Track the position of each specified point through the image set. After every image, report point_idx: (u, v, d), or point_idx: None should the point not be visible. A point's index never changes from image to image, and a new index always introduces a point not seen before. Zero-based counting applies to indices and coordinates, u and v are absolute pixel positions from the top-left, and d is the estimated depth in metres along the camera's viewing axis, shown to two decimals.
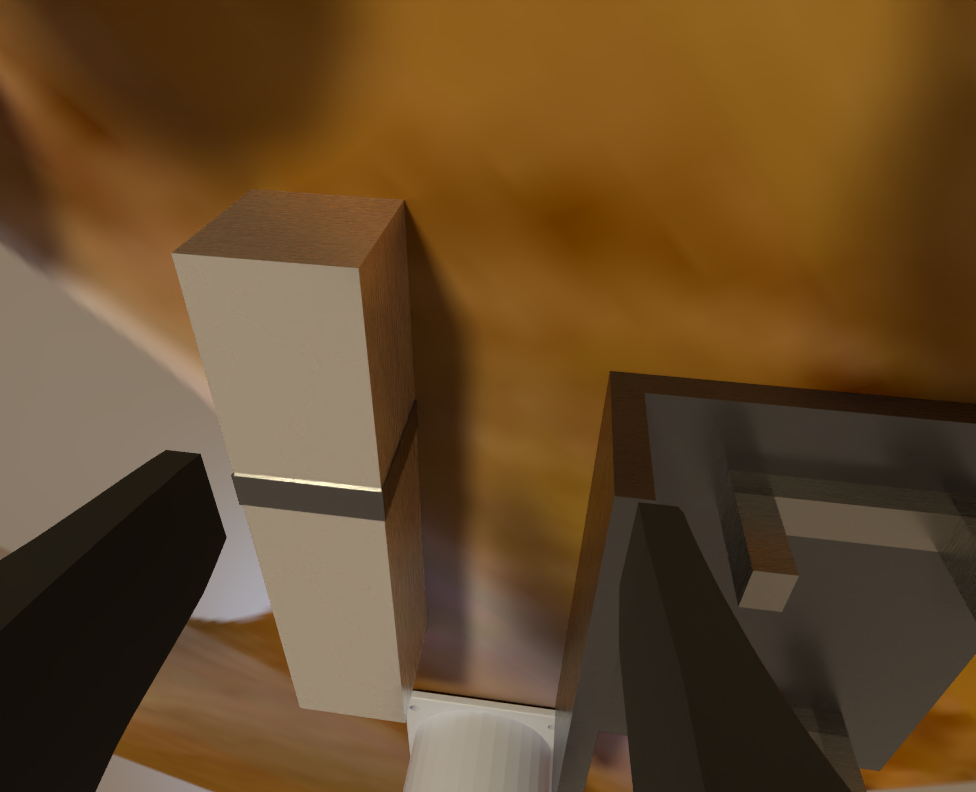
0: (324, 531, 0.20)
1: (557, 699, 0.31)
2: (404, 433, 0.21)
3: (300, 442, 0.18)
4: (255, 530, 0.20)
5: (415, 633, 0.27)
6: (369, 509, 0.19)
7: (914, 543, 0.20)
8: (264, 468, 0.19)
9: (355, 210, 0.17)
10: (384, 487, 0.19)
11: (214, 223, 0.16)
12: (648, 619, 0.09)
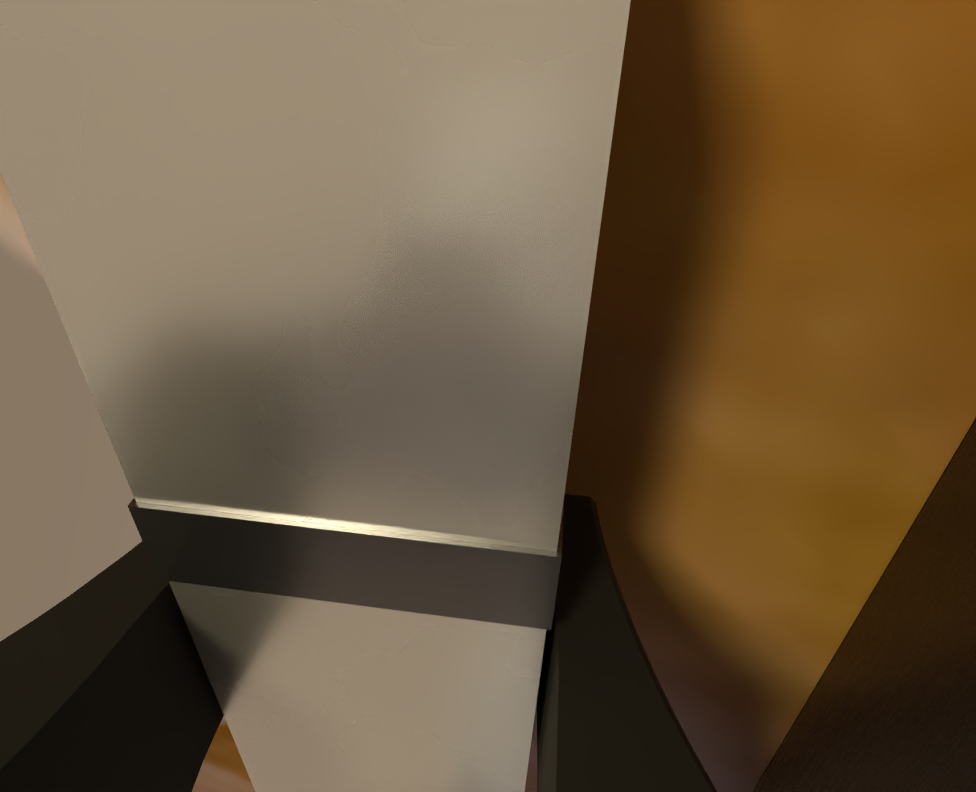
0: (379, 644, 0.08)
1: None
2: None
3: (326, 409, 0.06)
4: (205, 637, 0.08)
5: None
6: (512, 600, 0.07)
7: None
8: (219, 487, 0.07)
9: None
10: (561, 541, 0.07)
11: None
12: None
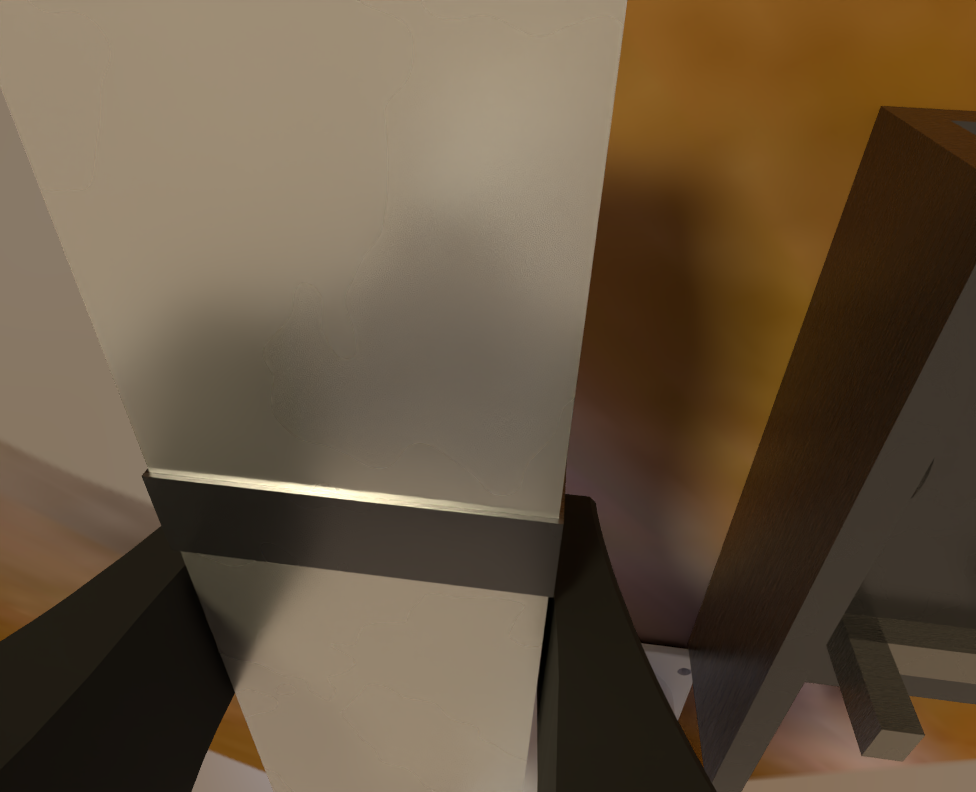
0: (386, 614, 0.08)
1: (696, 633, 0.25)
2: None
3: (336, 378, 0.06)
4: (215, 608, 0.08)
5: None
6: (515, 567, 0.07)
7: None
8: (231, 457, 0.07)
9: None
10: (563, 509, 0.07)
11: None
12: (548, 606, 0.09)
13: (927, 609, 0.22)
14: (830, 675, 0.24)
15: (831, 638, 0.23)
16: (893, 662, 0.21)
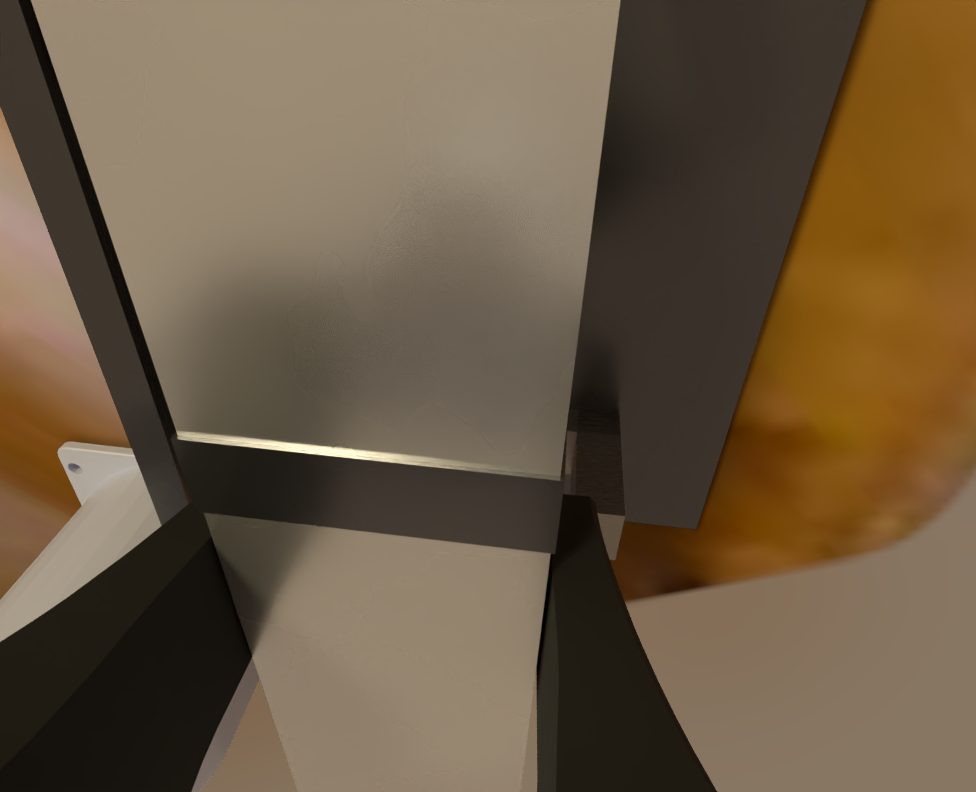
0: (396, 573, 0.09)
1: None
2: None
3: (354, 342, 0.06)
4: (235, 570, 0.09)
5: None
6: (519, 524, 0.08)
7: None
8: (255, 419, 0.07)
9: None
10: (564, 468, 0.07)
11: None
12: (548, 606, 0.09)
13: None
14: None
15: None
16: None
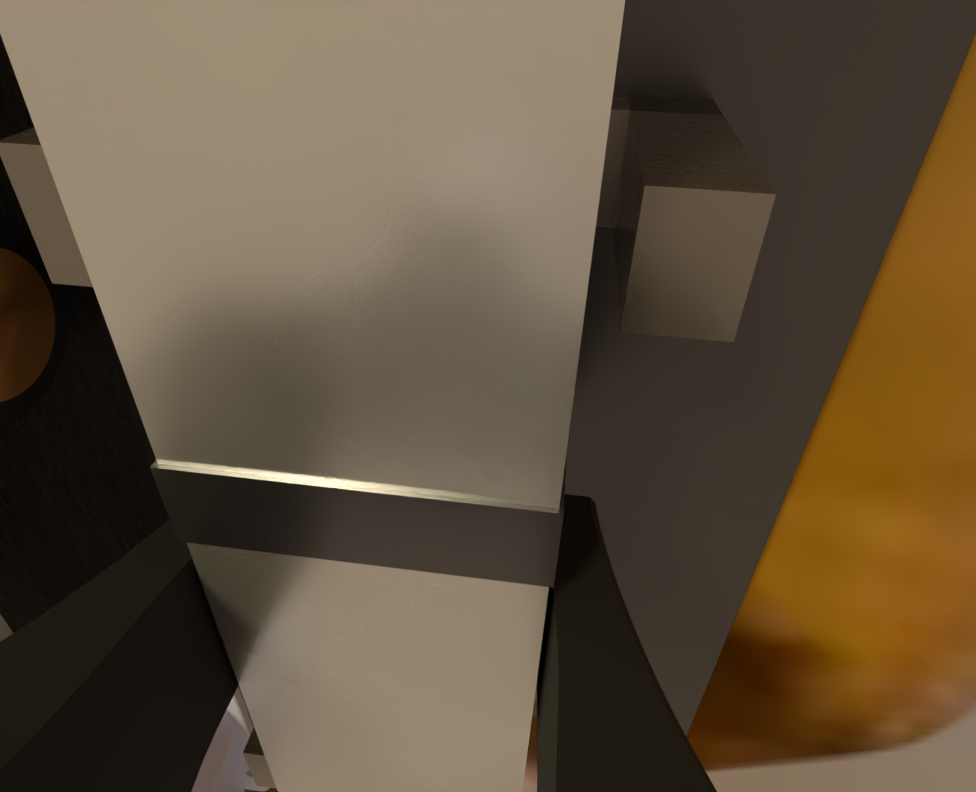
0: (388, 605, 0.08)
1: None
2: None
3: (342, 369, 0.06)
4: (220, 600, 0.09)
5: None
6: (516, 557, 0.07)
7: None
8: (238, 448, 0.07)
9: None
10: (563, 500, 0.07)
11: None
12: (548, 606, 0.09)
13: None
14: None
15: None
16: None
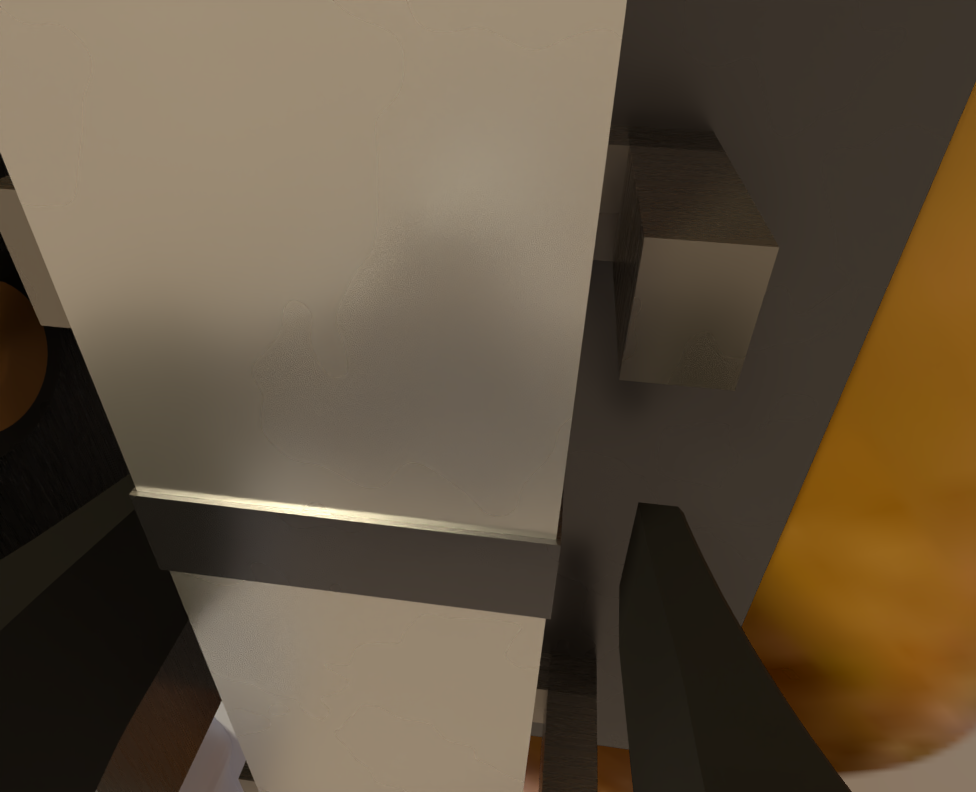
0: (379, 634, 0.08)
1: None
2: None
3: (326, 398, 0.06)
4: (206, 628, 0.08)
5: None
6: (512, 588, 0.07)
7: None
8: (220, 475, 0.07)
9: None
10: (561, 529, 0.07)
11: None
12: (648, 619, 0.09)
13: None
14: None
15: None
16: None
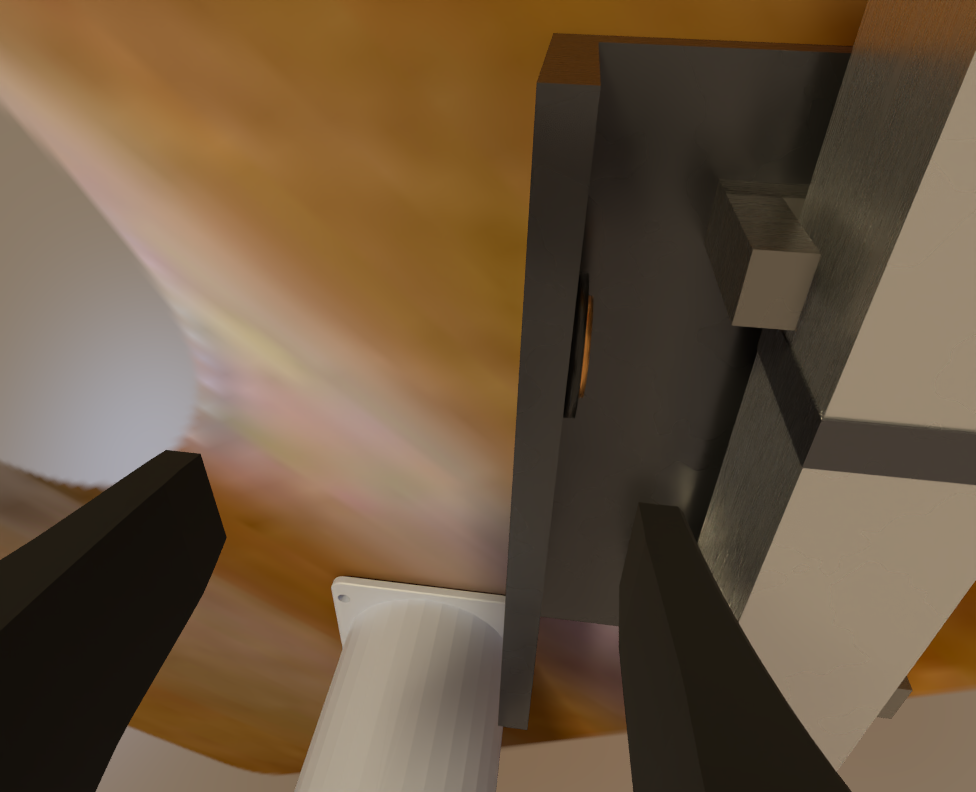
0: (917, 508, 0.13)
1: None
2: None
3: None
4: (795, 508, 0.14)
5: None
6: None
7: None
8: (886, 408, 0.12)
9: None
10: None
11: None
12: (648, 619, 0.09)
13: None
14: None
15: None
16: None
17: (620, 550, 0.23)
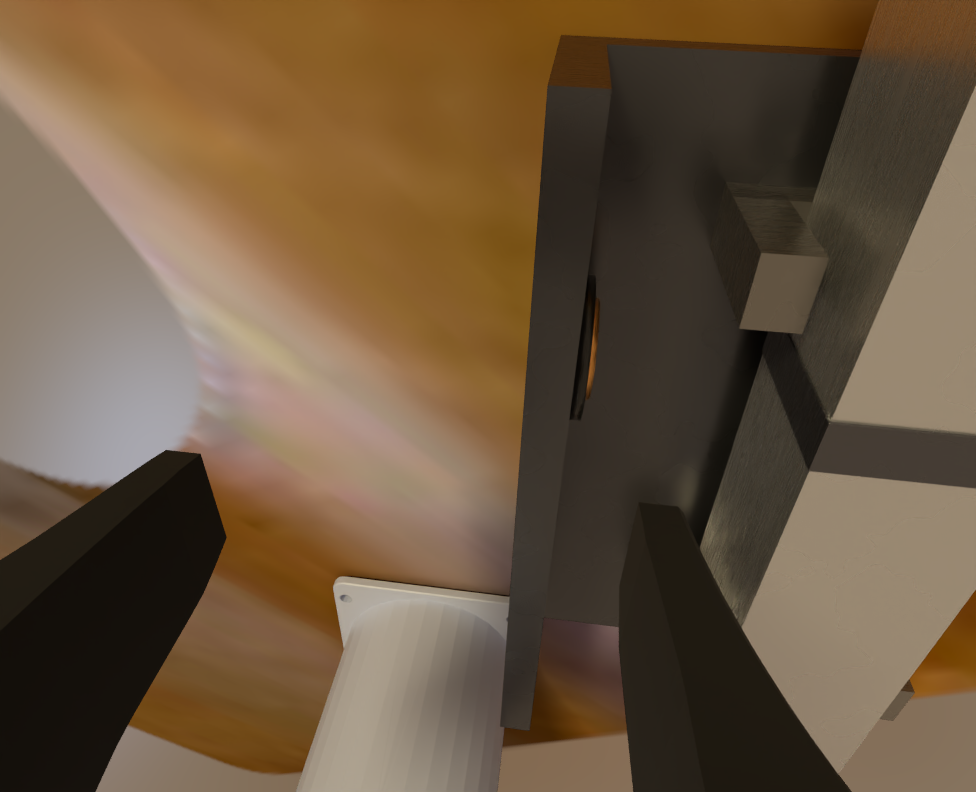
0: (922, 512, 0.13)
1: None
2: None
3: None
4: (801, 512, 0.14)
5: None
6: None
7: None
8: (893, 411, 0.12)
9: None
10: None
11: None
12: (648, 619, 0.09)
13: None
14: None
15: None
16: None
17: (623, 551, 0.23)
